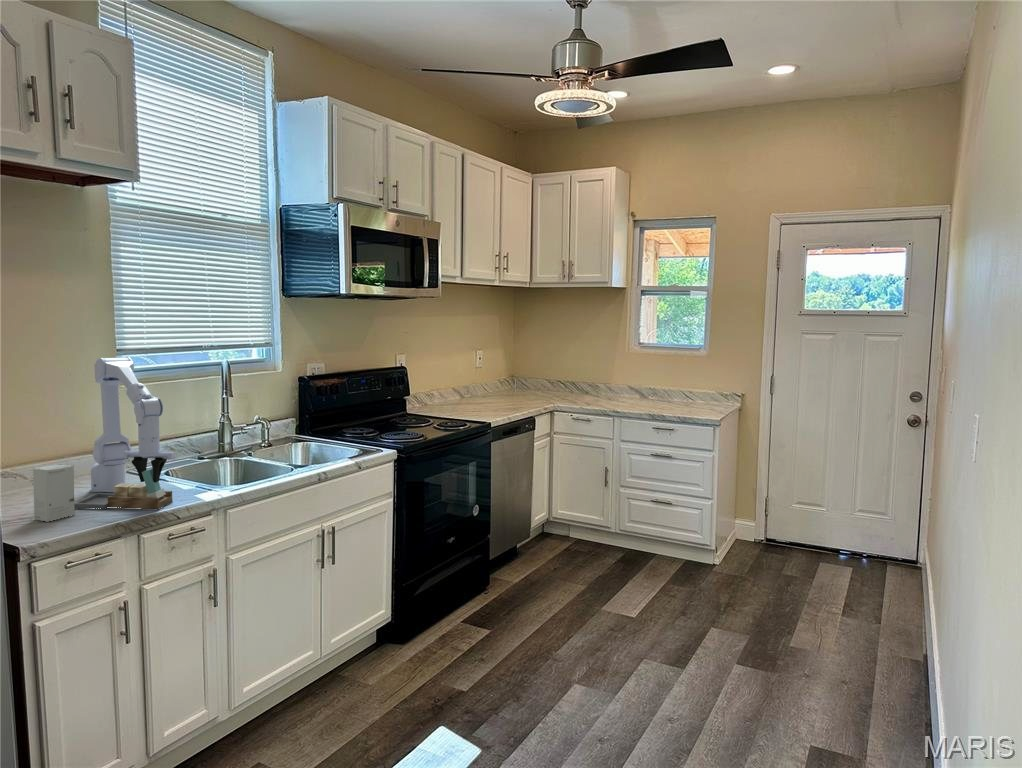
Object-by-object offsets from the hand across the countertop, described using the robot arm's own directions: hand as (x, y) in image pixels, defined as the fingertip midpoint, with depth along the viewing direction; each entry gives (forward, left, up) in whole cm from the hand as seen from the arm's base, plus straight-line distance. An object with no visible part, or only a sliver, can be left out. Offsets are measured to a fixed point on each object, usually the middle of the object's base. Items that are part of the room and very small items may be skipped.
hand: (149, 481), depth 211 cm
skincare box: (-19, -15, -8) cm, 26 cm away
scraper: (+2, 0, -5) cm, 6 cm away
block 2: (-3, 0, -6) cm, 6 cm away
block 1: (-8, 0, -6) cm, 10 cm away
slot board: (-3, 0, -8) cm, 8 cm away
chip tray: (-15, 0, -8) cm, 17 cm away
